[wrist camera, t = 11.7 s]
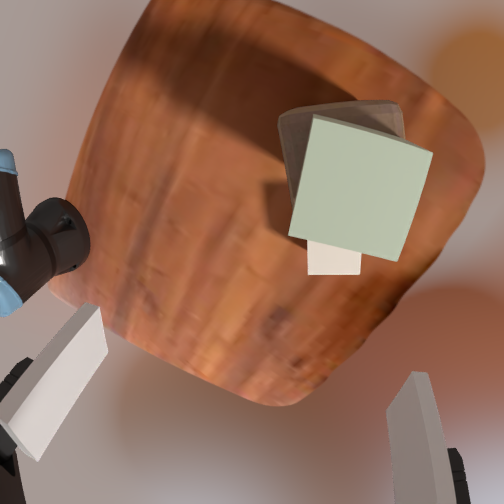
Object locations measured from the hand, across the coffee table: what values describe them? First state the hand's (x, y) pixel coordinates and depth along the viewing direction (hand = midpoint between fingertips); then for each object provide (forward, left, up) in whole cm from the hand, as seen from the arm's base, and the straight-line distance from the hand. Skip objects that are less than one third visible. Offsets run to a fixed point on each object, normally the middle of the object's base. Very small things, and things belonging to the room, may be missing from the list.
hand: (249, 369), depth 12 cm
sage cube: (+4, +6, -16) cm, 17 cm away
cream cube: (+7, -7, -36) cm, 37 cm away
